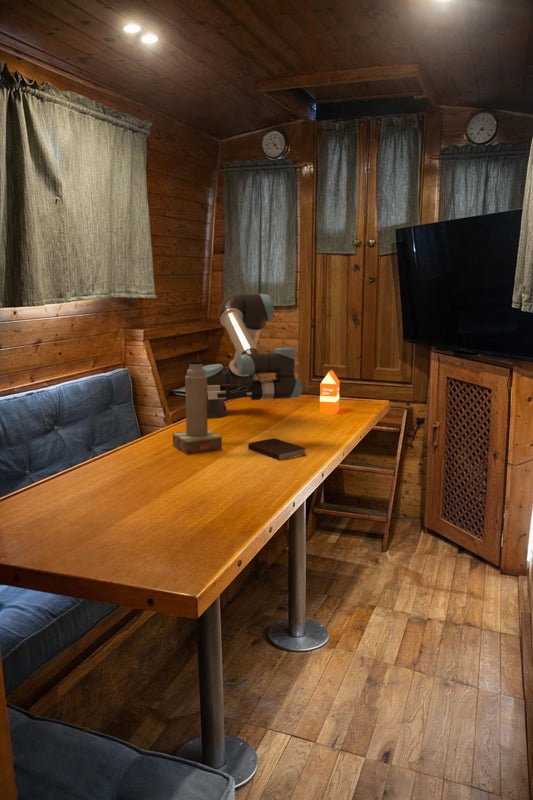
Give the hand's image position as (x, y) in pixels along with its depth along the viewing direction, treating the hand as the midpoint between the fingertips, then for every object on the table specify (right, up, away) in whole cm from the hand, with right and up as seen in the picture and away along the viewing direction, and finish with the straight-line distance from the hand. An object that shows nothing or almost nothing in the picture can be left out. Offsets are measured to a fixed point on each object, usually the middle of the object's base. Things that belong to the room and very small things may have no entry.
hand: (205, 392), depth 243 cm
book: (+27, -23, -3) cm, 35 cm away
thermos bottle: (-3, -16, +2) cm, 17 cm away
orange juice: (+53, -9, +67) cm, 86 cm away
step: (-3, -21, +3) cm, 21 cm away
